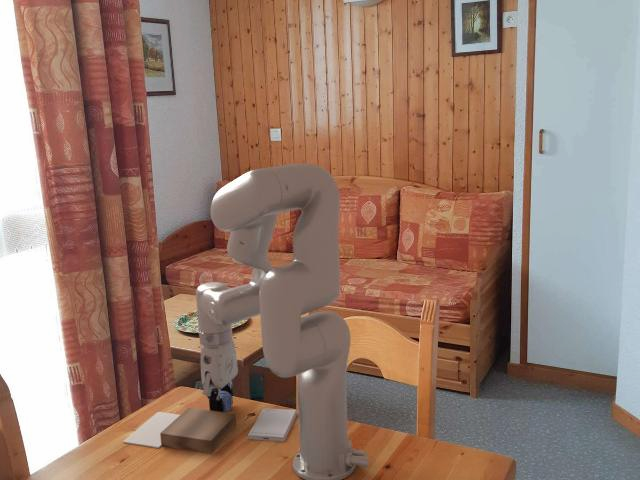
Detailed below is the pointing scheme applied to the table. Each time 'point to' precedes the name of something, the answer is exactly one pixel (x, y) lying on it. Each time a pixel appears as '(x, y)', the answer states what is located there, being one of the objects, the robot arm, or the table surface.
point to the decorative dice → (226, 401)
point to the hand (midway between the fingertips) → (221, 408)
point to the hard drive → (273, 425)
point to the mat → (151, 430)
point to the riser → (198, 430)
